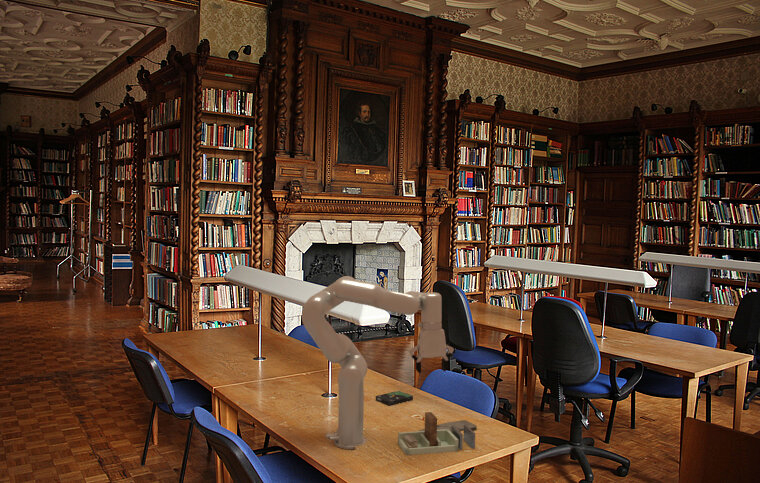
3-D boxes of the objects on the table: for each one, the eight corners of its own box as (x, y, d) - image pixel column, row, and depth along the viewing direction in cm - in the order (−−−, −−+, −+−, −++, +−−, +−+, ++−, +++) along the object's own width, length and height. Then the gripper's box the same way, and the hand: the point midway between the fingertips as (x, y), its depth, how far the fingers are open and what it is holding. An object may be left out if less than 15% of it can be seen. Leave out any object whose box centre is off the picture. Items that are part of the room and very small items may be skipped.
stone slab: (405, 430, 238) (463, 415, 255) (405, 438, 239) (463, 422, 255) (421, 439, 230) (479, 423, 246) (421, 447, 230) (479, 430, 246)
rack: (405, 458, 216) (406, 443, 216) (397, 446, 227) (398, 432, 226) (458, 454, 221) (458, 439, 221) (447, 442, 232) (448, 429, 231)
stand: (459, 452, 222) (460, 434, 222) (451, 443, 231) (451, 425, 230) (474, 451, 223) (475, 433, 223) (465, 442, 232) (466, 424, 232)
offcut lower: (409, 452, 218) (409, 446, 218) (403, 445, 225) (404, 439, 225) (417, 451, 219) (417, 446, 219) (412, 444, 226) (412, 438, 226)
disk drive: (389, 407, 273) (413, 401, 283) (389, 401, 273) (413, 395, 282) (375, 401, 281) (398, 395, 290) (375, 395, 281) (398, 389, 290)
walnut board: (430, 450, 220) (430, 418, 220) (424, 443, 227) (425, 412, 226) (436, 450, 221) (437, 418, 220) (430, 443, 228) (431, 412, 227)
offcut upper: (410, 446, 219) (410, 441, 219) (404, 440, 224) (404, 435, 224) (417, 445, 220) (417, 440, 220) (411, 439, 225) (411, 434, 225)
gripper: (411, 329, 217) (411, 375, 218) (456, 326, 221) (456, 372, 222) (406, 325, 225) (406, 370, 225) (450, 323, 228) (450, 367, 229)
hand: (431, 371), depth 224 cm, fingers open, 9 cm apart
